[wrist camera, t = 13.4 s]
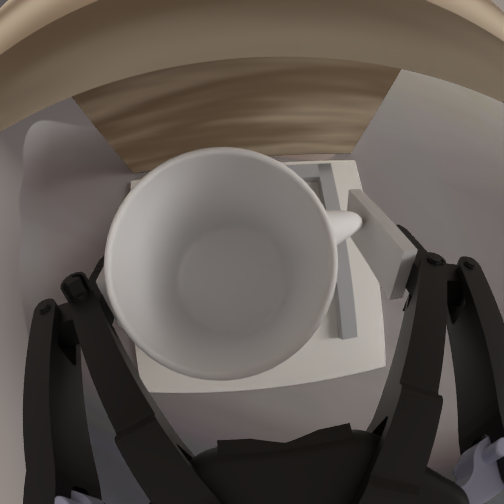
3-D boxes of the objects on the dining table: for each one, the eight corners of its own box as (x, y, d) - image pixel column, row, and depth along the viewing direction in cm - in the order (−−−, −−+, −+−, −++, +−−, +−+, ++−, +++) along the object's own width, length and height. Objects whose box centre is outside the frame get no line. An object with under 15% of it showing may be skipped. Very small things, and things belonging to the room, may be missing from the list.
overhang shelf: (369, 236, 22) (567, 95, 2) (131, 259, 22) (-90, 148, 2) (345, 136, 24) (432, -45, 4) (135, 155, 24) (24, -15, 4)
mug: (349, 300, 20) (437, 294, 9) (196, 354, 19) (143, 404, 8) (309, 195, 21) (355, 110, 11) (161, 244, 20) (88, 191, 10)
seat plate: (383, 365, 20) (390, 368, 19) (144, 390, 20) (137, 395, 18) (353, 162, 23) (358, 155, 22) (133, 183, 23) (126, 176, 22)
